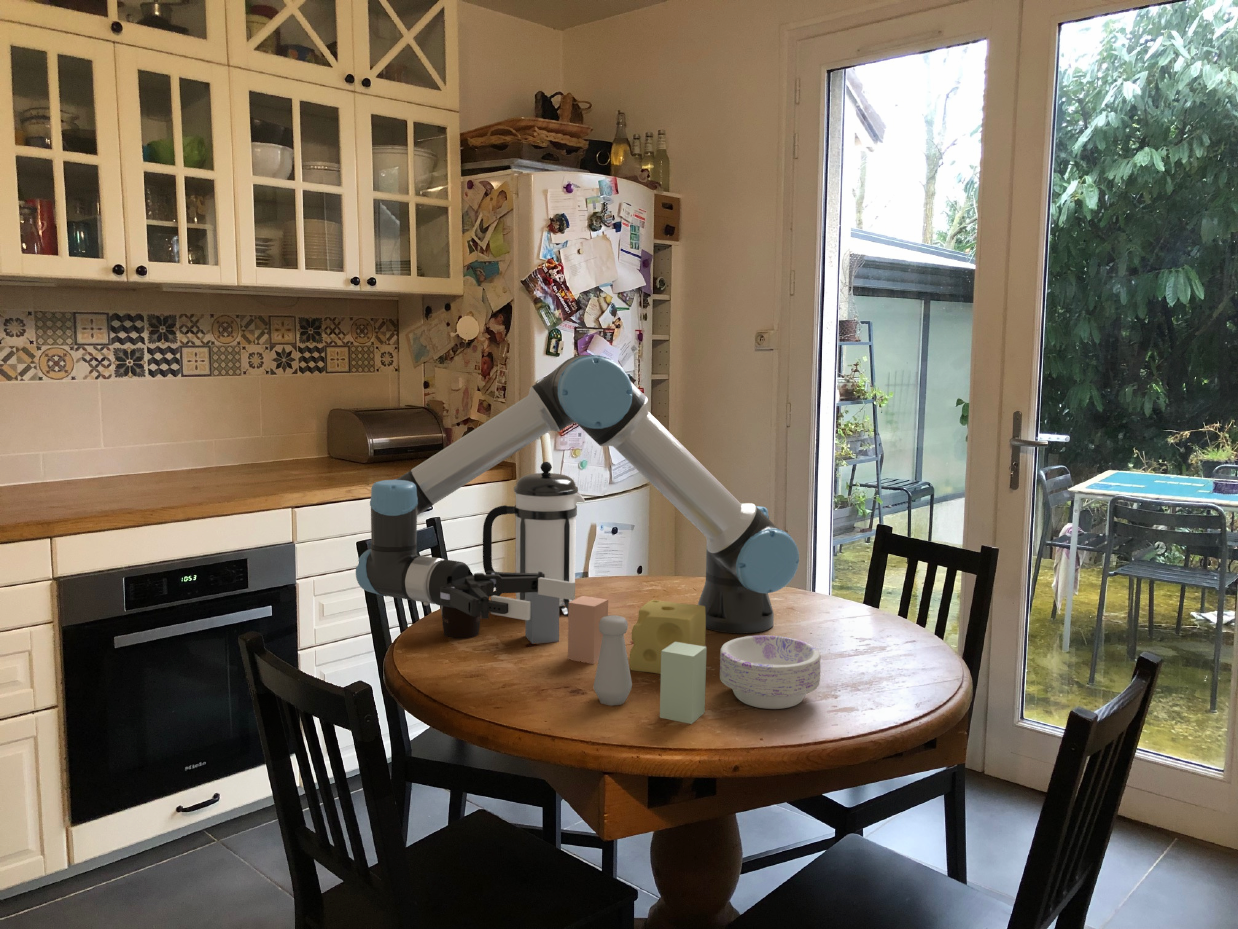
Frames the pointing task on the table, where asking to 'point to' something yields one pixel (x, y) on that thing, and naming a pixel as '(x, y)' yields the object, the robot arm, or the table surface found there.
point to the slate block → (542, 618)
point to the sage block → (683, 682)
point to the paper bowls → (770, 670)
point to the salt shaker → (613, 662)
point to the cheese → (664, 632)
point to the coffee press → (541, 527)
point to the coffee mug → (459, 623)
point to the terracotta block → (585, 628)
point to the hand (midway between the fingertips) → (552, 600)
